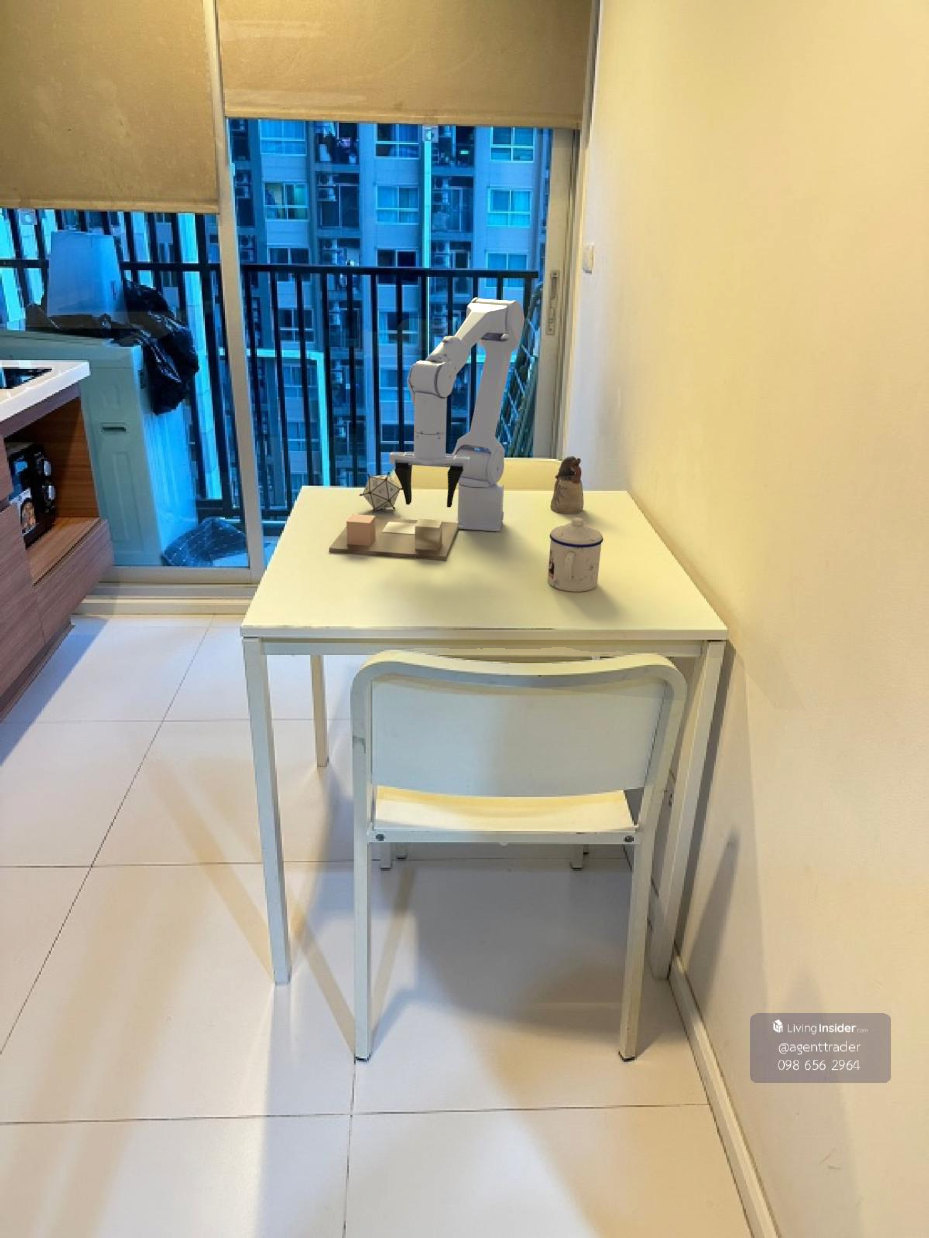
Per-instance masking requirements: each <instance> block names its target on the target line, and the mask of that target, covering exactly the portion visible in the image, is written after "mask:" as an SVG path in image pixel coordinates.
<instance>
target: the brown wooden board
mask: <svg viewBox="0 0 929 1238" xmlns="http://www.w3.org/2000/svg"><path fill="white" fill-rule="evenodd" d="M418 520H419V519H406V518H391V517H377V516H375V534H376V538H375V540H374V541H373V543H372V544H371V546H366V545H352V544H347V525H346V526H345V527H344V528H343V530H342V531H341V532H340V534H338V536H337V537H336V539H335V540H334V541H333V542H332V544H330V546H329V548H328V552H329V553H338V554H349V555H350V554H353V555H365V556H367V555H369V556H381V557H392V558H406V559H418V560H419V559H421V560H424V559H425V560H433V561H434V560H435V561H447V558H448V556H449V553H450V550H451V548H452V545H453V543H454V541H455V537H456V536H457V533H458V530H459V529H458V527H459V523H455V522H451V521H442V544H441V546H440V548H439V551H437V550H423V549H415V525H416V523H417V522H418Z"/></svg>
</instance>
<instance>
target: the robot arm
mask: <svg viewBox="0 0 929 1238" xmlns="http://www.w3.org/2000/svg"><path fill="white" fill-rule="evenodd" d="M465 317H466V318H465V320H464V322H463V323H462V324H461V326H460V327H459V329H458V330H457V332H456V333H455V334H454V335H453V336H452V335H448V336H444V337H443V338H442V339H441V341H440V343H439V344H438V345H436V347H435V348H434V349H433V351H432V352H430V354H429V355H427V357H426V358H425V360H419V361H416V363H414V364H412V366H411V367H410V369H409V372H408V377H407V378H406V379H407V388H408V390H409V392H410V397H411V398H410V402H411V404H412V405H414V406H413V408H414V409H413V412H414V413H413V414H414V415H413V418H414V419H413V422H414V423H413V427H414V428H413V451H405V452H402V451H391V452H390V453H389V459H388V460H389V465H390V466H394V474H395V475H396V477H397V479H398V481H399V483H400V486H401V488H402V489H403V490H402V491H403V495H404V501H405V505H407V506H409V505H411V503H412V501H413V500H412V498H413V497H412V496H413V495H412V493H413V491H412V473H413V466H420V467H434V468H435V467H436V468H449V469H448V471H447V498H446V508H451V507H452V506H453V499H454V495H455V492H456V488H457V487H458V490H457V491H458V492H457V494H458V495H457V517H456V519H455V522H454V523H459V527H458V530H470V531H471V530H473V531H487V532H489V531H490V532H500V530H501V528H502V527H501V526H502V523H503V521H504V515H505V512H504V509H503V508H504V493H505V492H504V491H505V488H504V487H505V485H504V484H501V483H498V482H499V481H500V480H501V478H502V477H503V474H504V470H505V455H506V451H505V450H506V449H505V448H504V446H503V445H502V443H501V442H500V441H499V440H498V438H496V430H497V427H498V422H499V416H500V411H501V408H502V402H503V398H504V394H505V390H506V384H507V380H508V375H509V370H510V365H511V360H512V355H513V352H514V351H516V350H517V349H519V348H520V347H519V346H520V343H521V340H522V336H523V331H524V326H525V325H524V324H525V314H524V308H523V306H522V304H521V302H520V301H519V300H502V299H500V300H499V299H487V298H480V297H474V298H472V300H471V301H470V303H469V304H468V305H467V307H466V315H465ZM476 344H477V345H478V346H479V347H481V348H482V349H484V352H485V356H484V363H483V367H482V371H481V376H480V382H479V386H478V390H477V391H478V392H477V397H476V401H475V405H474V406H475V407H474V410H473V411H474V412H473V415H472V420H471V425H470V429H469V432H467V433H465V434H464V435H463V436H461V437H459V438H458V439H457V440H456V441H457V442H456V445H455V447H454V450H453V452H452V454H451V453H447V452H446V448H447V447H446V444H447V443H446V442H447V407H448V405H447V401H448V396H449V395H451V393H452V392H453V388H454V383H455V382H456V379H457V374H458V373H459V372H460V371H461V369H462V368H463V367H464V366H465V364H466V363H467V362H468V360H470V359H469V358H470V349H471V348H473V346H475V345H476ZM457 485H458V486H457Z"/></svg>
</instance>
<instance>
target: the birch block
mask: <svg viewBox="0 0 929 1238" xmlns="http://www.w3.org/2000/svg"><path fill="white" fill-rule="evenodd" d="M417 520H418V522H417V523H416V525H415V549H423V550H437V551H439V548H440V546H441V544H442V522H443V519H430V518H428V519H427V518H418V519H417Z"/></svg>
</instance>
